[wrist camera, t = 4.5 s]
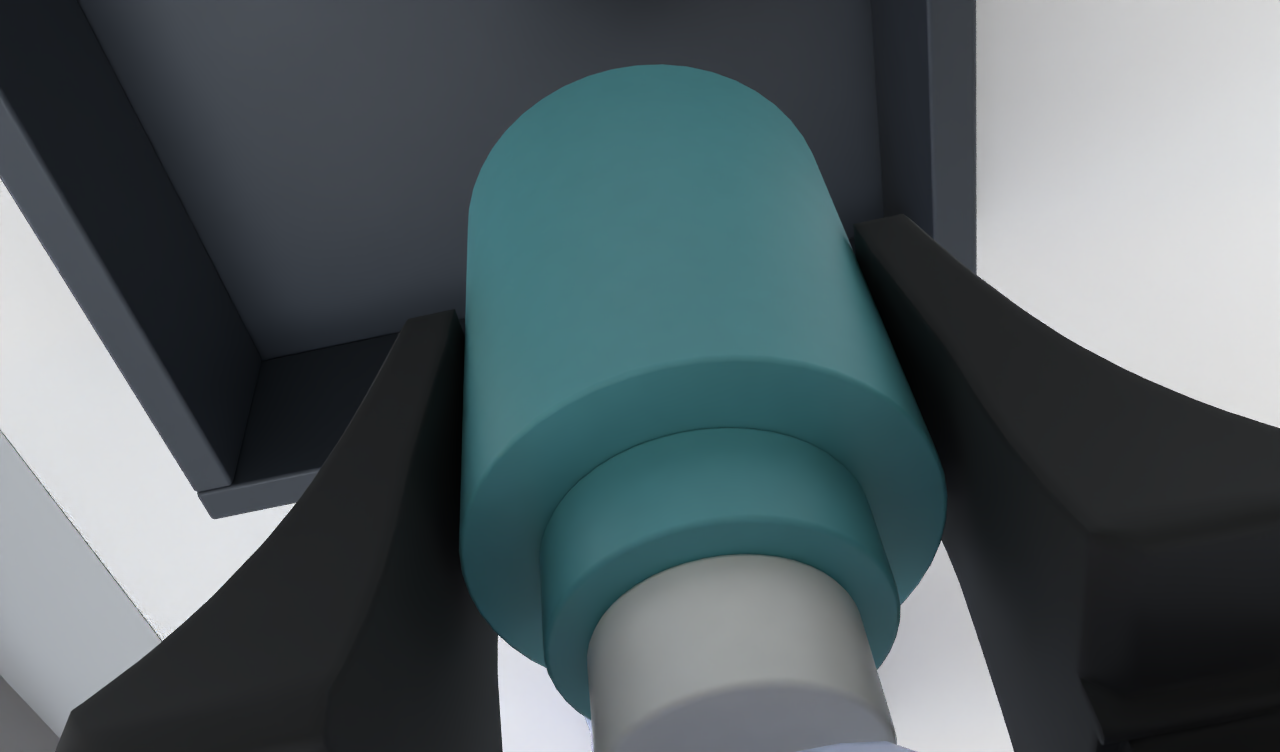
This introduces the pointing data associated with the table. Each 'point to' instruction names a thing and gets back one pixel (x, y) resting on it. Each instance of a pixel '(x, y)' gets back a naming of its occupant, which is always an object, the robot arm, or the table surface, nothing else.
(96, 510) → the table surface
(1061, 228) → the table surface
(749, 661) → the bottle
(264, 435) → the bin
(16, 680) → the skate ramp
